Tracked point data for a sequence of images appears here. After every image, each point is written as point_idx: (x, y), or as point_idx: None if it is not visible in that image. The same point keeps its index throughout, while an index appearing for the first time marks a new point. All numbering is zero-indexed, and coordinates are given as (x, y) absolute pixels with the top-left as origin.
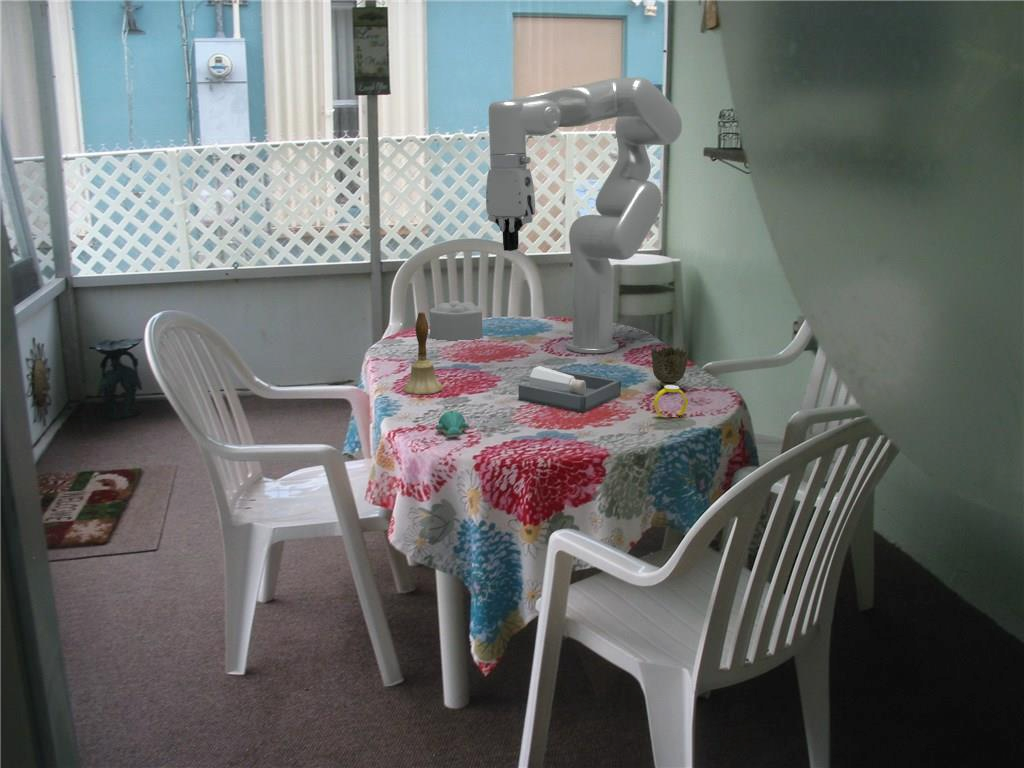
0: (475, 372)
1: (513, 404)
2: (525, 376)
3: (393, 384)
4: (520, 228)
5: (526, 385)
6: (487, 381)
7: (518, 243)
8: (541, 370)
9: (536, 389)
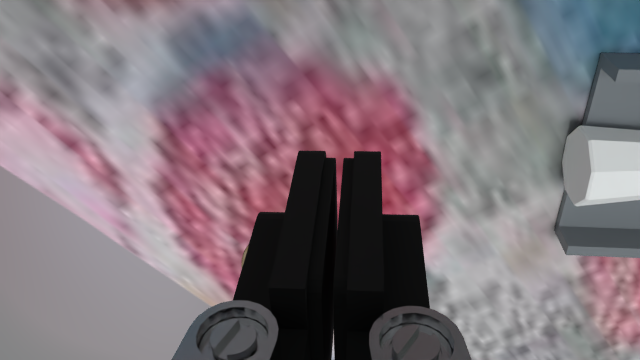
0: (292, 83)
1: (558, 261)
2: (460, 35)
3: (203, 271)
4: (462, 343)
5: (589, 249)
6: (386, 141)
7: (419, 222)
8: (615, 197)
9: (626, 255)
